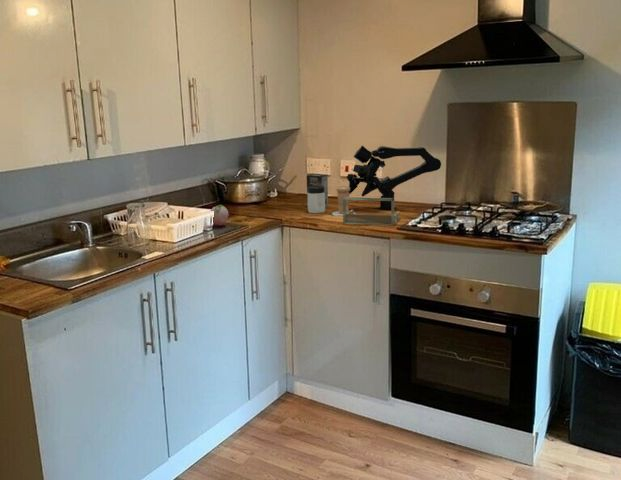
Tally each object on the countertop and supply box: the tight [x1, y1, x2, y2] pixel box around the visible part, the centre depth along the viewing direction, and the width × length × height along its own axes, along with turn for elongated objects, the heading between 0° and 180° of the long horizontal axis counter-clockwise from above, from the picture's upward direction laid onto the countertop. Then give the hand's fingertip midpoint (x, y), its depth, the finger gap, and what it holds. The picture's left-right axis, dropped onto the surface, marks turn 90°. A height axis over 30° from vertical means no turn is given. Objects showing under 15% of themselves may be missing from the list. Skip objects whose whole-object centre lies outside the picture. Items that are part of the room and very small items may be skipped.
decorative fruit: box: [210, 204, 229, 227], centre depth 278 cm, size 9×8×10 cm
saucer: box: [331, 210, 356, 217], centre depth 297 cm, size 11×11×1 cm
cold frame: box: [342, 196, 401, 227], centre depth 277 cm, size 16×22×12 cm
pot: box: [336, 186, 350, 214], centre depth 296 cm, size 6×6×12 cm
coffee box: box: [306, 173, 329, 208], centre depth 318 cm, size 9×6×16 cm
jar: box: [306, 186, 326, 214], centre depth 305 cm, size 9×8×12 cm
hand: (355, 194), depth 299 cm, fingers open, 9 cm apart
